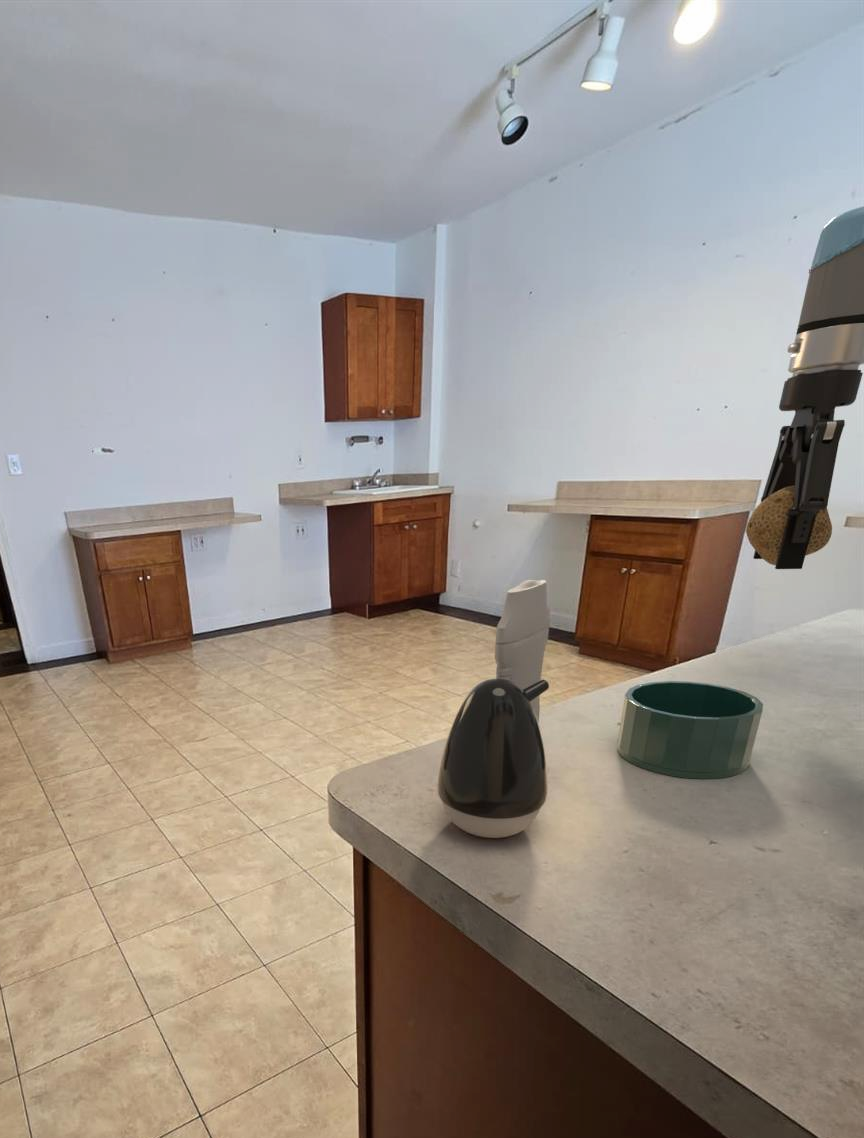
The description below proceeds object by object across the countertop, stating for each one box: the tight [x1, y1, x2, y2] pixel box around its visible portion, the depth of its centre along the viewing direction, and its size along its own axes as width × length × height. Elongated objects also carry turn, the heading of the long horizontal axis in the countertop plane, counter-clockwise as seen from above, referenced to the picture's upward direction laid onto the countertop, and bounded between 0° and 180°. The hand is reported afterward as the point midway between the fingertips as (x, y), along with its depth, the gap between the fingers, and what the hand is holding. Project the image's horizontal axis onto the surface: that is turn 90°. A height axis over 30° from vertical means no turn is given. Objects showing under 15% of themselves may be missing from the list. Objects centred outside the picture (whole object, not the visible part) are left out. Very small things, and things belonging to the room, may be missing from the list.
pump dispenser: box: [437, 677, 550, 839], centre depth 61 cm, size 10×10×15 cm
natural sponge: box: [745, 486, 833, 566], centre depth 85 cm, size 9×9×10 cm
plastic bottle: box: [494, 579, 551, 725], centre depth 69 cm, size 11×4×22 cm, turn 135°
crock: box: [616, 680, 764, 780], centre depth 74 cm, size 13×13×7 cm
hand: (776, 563), depth 87 cm, fingers closed on natural sponge, 9 cm apart
